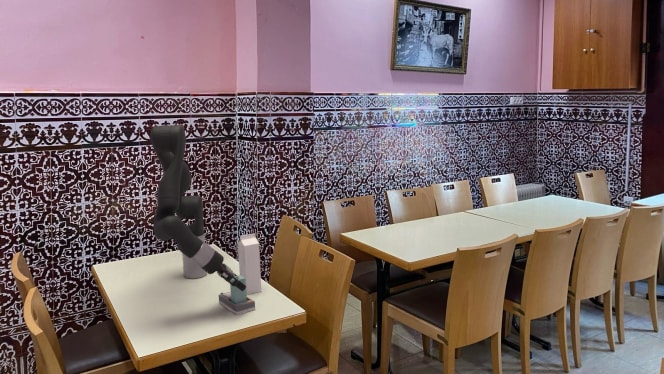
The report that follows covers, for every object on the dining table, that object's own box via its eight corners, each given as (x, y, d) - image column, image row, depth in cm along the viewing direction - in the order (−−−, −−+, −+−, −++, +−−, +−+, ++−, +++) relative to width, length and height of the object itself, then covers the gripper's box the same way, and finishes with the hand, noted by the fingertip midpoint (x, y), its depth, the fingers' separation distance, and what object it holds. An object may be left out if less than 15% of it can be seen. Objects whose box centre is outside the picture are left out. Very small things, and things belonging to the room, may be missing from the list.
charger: (231, 304, 194) (229, 277, 193) (241, 302, 197) (240, 274, 195) (236, 308, 191) (234, 280, 189) (246, 305, 193) (245, 277, 191)
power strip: (213, 298, 203) (212, 290, 202) (230, 294, 207) (229, 285, 207) (236, 314, 188) (236, 305, 187) (255, 309, 192) (254, 300, 192)
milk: (261, 291, 209) (259, 235, 205) (246, 295, 206) (243, 237, 202) (254, 286, 214) (252, 231, 210) (239, 290, 211) (237, 234, 207)
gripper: (217, 254, 181) (253, 283, 187) (210, 243, 194) (244, 270, 200) (202, 272, 180) (239, 300, 186) (195, 260, 193) (230, 286, 199)
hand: (241, 284), depth 193 cm, fingers open, 8 cm apart
